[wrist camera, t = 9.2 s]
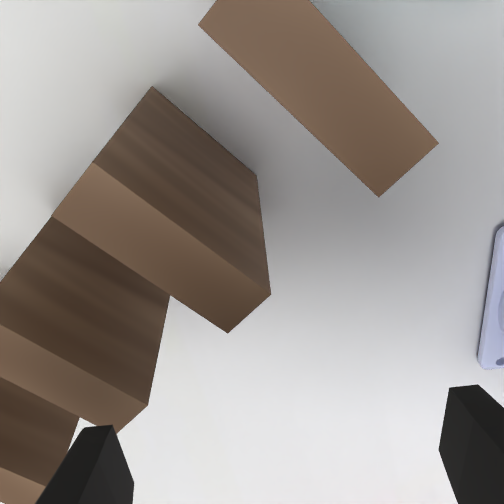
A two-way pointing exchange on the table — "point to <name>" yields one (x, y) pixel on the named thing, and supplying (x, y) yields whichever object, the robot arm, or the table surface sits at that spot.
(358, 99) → the walnut domino
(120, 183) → the walnut domino
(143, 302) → the walnut domino
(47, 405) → the walnut domino
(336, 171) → the table surface
